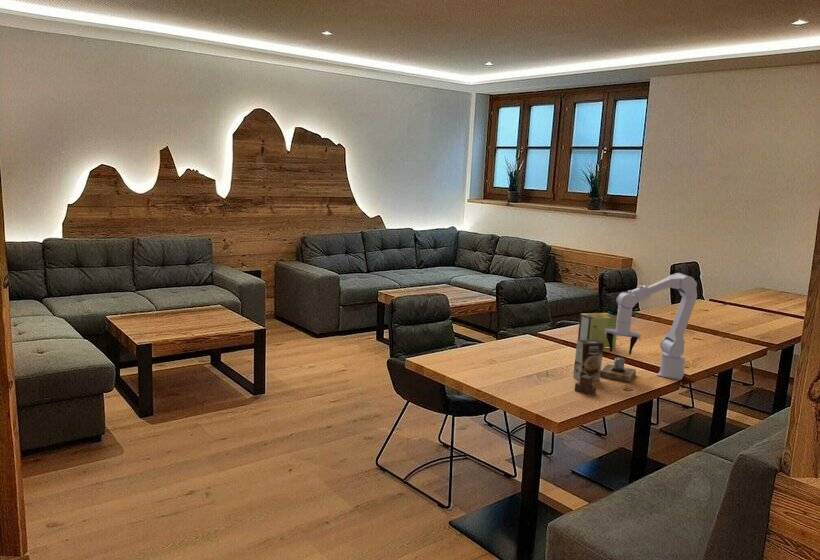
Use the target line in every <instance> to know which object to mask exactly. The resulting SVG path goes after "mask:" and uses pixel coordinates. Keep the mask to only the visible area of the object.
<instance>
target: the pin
mask: <svg viewBox="0 0 820 560" xmlns="http://www.w3.org/2000/svg"><path fill="white" fill-rule="evenodd" d="M625 361H626V359H625V358H623V357H617V356H616V357H614V362H613V365H614V370H613V371H615V372H620V373H623V370H624V367H625Z"/></svg>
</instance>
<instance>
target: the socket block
mask: <svg viewBox="0 0 820 560" xmlns="http://www.w3.org/2000/svg"><path fill="white" fill-rule="evenodd" d="M613 370H614V364H610V363H609V364H608V363H607V364H606V365H605V366H604V367H603V368H601V372H600V378H603V377H605V378H604V379H608V378H610V379H609V380H613V379H615V380H614V381H618V380H619V381H620V382H624V383H631V382H632V380H633V379H634V378H635V377H636V372H637V369H633V368H629V367H625V366H624V370H623V373H620V372H615V371H613ZM619 381H618V382H619Z"/></svg>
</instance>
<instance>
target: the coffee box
mask: <svg viewBox="0 0 820 560" xmlns="http://www.w3.org/2000/svg"><path fill="white" fill-rule="evenodd" d="M603 345H604V343H602V342H600V341H597V340H578V339H577V341H576V349H575V357H574V366H573V374H572V375H573V376H572V377H573V378H575V379H576V380H578V382H580V377H581V376H583V375H588V376H591V377H592V380H593V381H592V382H594V380H599V381H600V379H601V377H600V372H601V370H602V361H603V353H604V349H603Z"/></svg>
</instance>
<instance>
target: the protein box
mask: <svg viewBox="0 0 820 560" xmlns="http://www.w3.org/2000/svg"><path fill="white" fill-rule="evenodd" d="M616 322H617V316H615V315H613V314H610V313H609V312H592V313H591V312H590V313H586V312H585V313H580V314H579V324H578V335H577V340H597V341H600V342H602V343H604V345H603V348H605V347H610V346H609V342H608V339H607V337H606V336H607V334H604V331H605V329H616ZM617 337H618V335H614V337H613V347H615V348H616V345H617V343H616V342H617ZM605 349H606V348H605Z"/></svg>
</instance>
